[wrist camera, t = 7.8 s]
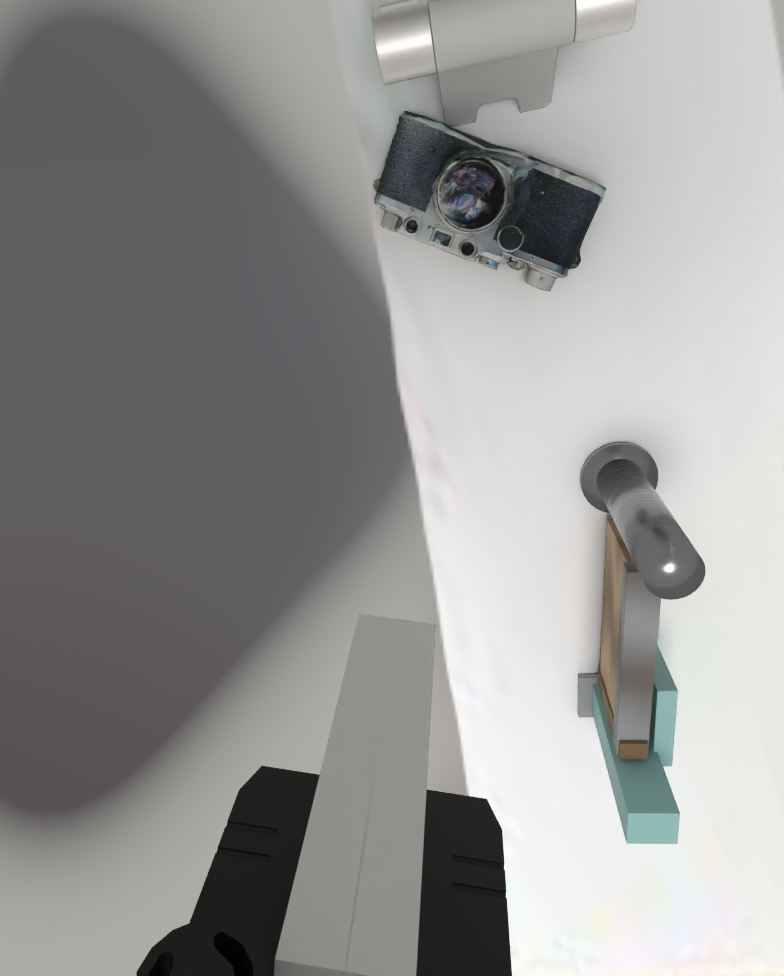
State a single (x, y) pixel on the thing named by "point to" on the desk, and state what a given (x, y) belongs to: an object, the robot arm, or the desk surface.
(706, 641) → the desk surface
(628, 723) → the gate
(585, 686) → the stile
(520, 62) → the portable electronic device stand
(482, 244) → the camera
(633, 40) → the desk surface
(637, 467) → the hinge post
